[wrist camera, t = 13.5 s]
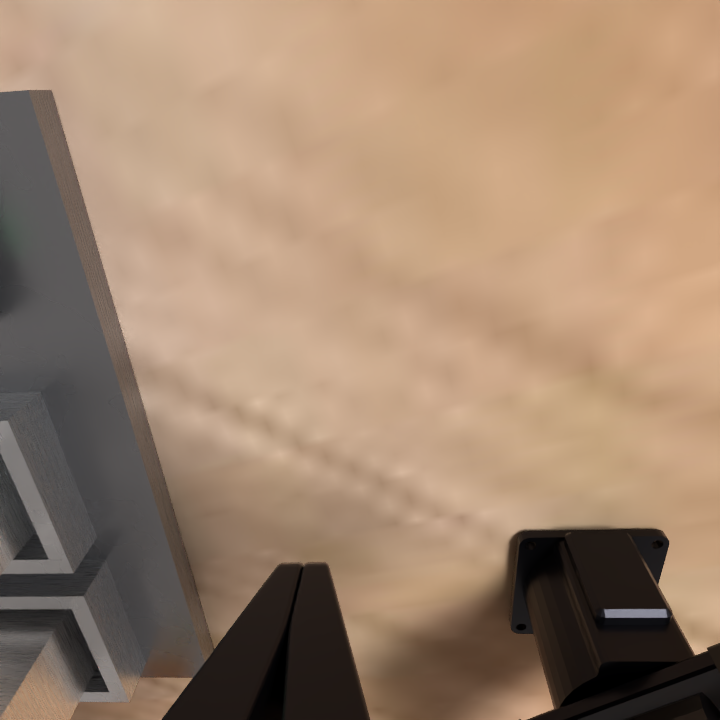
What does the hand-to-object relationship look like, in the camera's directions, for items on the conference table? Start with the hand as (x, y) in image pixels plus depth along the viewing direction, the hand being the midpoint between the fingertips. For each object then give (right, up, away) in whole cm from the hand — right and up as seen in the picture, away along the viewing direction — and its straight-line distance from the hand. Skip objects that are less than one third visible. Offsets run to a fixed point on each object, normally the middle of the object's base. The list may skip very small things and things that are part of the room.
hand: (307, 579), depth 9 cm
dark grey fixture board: (-15, -1, +14) cm, 21 cm away
